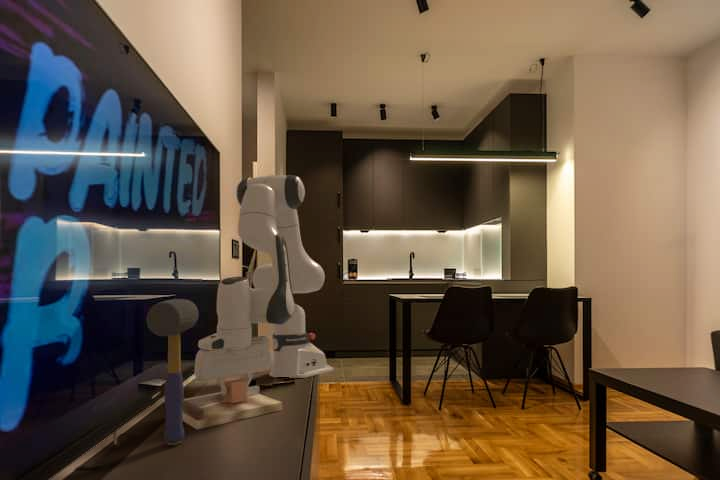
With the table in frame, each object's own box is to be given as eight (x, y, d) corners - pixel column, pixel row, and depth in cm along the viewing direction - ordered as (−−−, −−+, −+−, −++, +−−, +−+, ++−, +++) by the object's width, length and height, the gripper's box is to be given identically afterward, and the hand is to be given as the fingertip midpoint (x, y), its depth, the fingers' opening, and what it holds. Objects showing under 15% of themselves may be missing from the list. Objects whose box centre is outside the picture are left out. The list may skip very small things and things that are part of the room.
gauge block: (238, 397, 129) (237, 378, 129) (246, 400, 125) (246, 380, 125) (223, 399, 126) (223, 380, 126) (232, 403, 122) (231, 383, 123)
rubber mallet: (180, 454, 94) (180, 300, 97) (142, 455, 94) (143, 301, 97) (202, 433, 107) (201, 297, 109) (168, 434, 107) (168, 298, 109)
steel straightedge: (256, 392, 134) (256, 385, 135) (259, 393, 133) (259, 386, 133) (176, 408, 121) (176, 400, 121) (178, 409, 119) (178, 401, 120)
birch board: (256, 400, 134) (256, 385, 135) (282, 410, 123) (281, 394, 124) (176, 416, 120) (176, 400, 121) (197, 429, 110) (196, 411, 110)
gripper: (264, 334, 136) (265, 384, 135) (191, 342, 123) (192, 397, 122) (275, 335, 131) (276, 387, 130) (201, 344, 118) (201, 402, 117)
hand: (235, 392), depth 126 cm, fingers closed on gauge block, 4 cm apart
